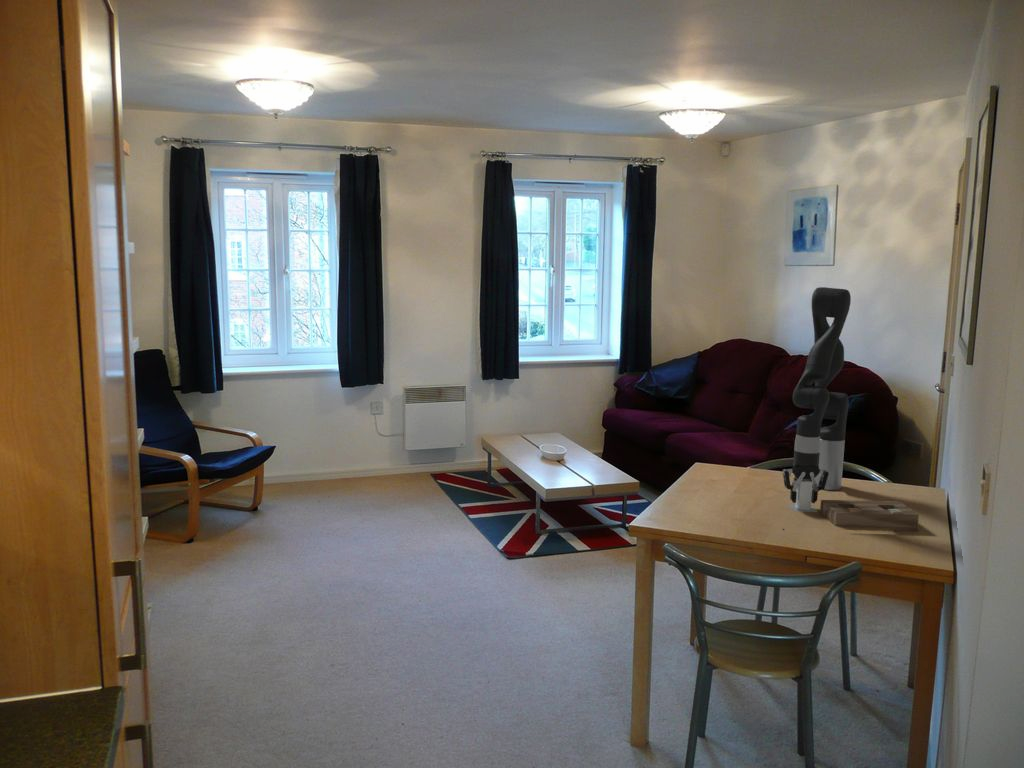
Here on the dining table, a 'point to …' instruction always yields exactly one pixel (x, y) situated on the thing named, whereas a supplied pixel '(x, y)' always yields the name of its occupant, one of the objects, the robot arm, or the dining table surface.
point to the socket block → (870, 514)
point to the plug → (804, 495)
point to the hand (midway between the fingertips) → (803, 502)
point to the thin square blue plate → (802, 510)
